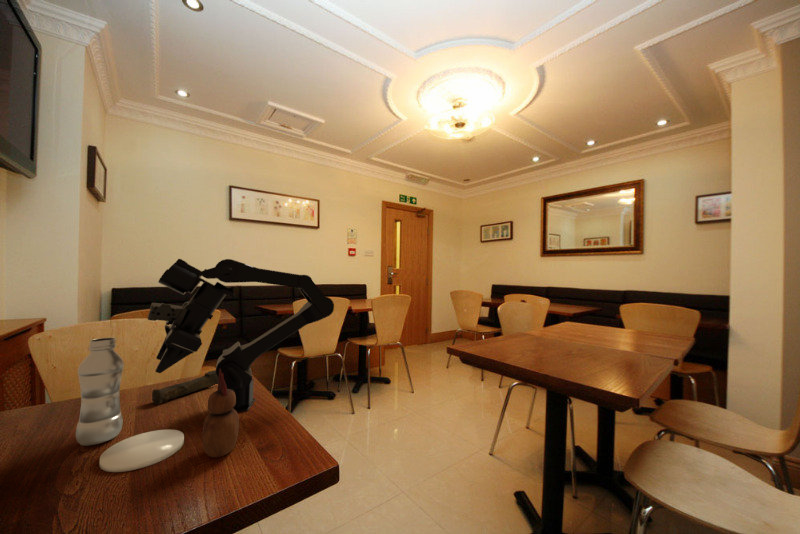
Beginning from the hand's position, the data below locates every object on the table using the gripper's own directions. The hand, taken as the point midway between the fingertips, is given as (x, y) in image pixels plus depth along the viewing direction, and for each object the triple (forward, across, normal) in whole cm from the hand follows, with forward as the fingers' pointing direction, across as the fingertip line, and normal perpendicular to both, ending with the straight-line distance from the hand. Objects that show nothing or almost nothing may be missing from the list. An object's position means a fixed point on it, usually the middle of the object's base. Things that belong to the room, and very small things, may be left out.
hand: (157, 365), depth 68 cm
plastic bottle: (+15, +4, -1) cm, 16 cm away
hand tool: (+8, -15, +14) cm, 22 cm away
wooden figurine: (+4, +23, +14) cm, 27 cm away
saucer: (+11, +14, +5) cm, 18 cm away
